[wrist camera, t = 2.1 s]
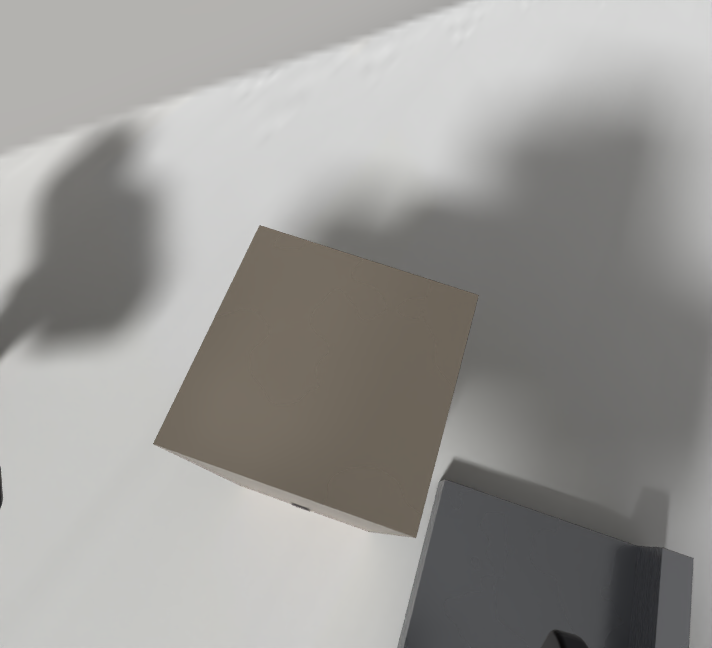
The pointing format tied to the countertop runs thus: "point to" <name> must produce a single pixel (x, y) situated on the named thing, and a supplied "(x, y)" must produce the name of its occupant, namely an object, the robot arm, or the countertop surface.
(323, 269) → the block
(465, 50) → the countertop surface
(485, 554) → the plate
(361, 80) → the countertop surface
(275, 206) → the countertop surface
